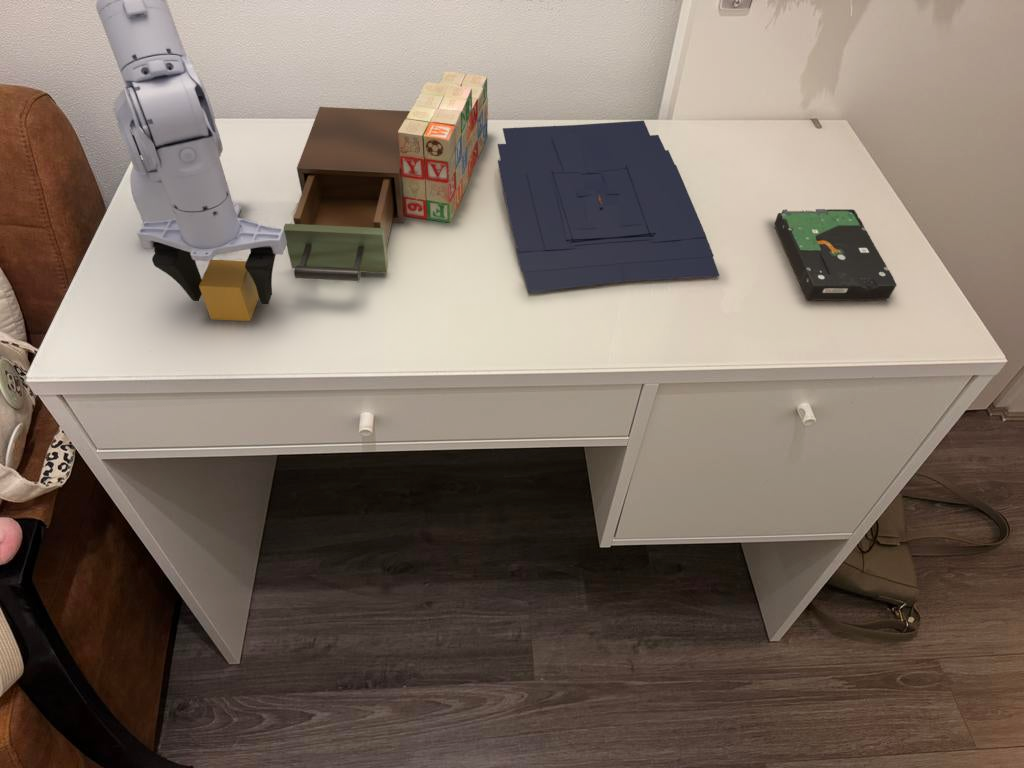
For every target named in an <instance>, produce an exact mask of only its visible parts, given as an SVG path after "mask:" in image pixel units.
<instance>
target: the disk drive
mask: <svg viewBox="0 0 1024 768" xmlns="http://www.w3.org/2000/svg"><path fill="white" fill-rule="evenodd" d="M774 226H775V230H776V232H777V234H778V237H779V239H780V242H781V244H782V247H783V249H784V251H785V253H786V255H787V257H788V260H789V261H790V264H791V266H792V269H793V271H794V273H795V275H796V277H797V280H798V282H799V285H800V286H801V289H802V291H803V293H804V295H805V296H806V299H807V300H820V301H838V300H839V301H841V300H842V301H854V300H855V301H856V300H858V301H860V300H861V301H862V300H864V301H865V300H869V301H870V300H872V301H873V300H876V301H877V300H889V299H890V298H891V296H892V294H893V292H894V291H895V289H896V287H897V283H896V281H895V279H894V276H893V274H892V272H891V271H890V270H889V268H888V266H887V264H886V262H885V261H884V259H883V257H882V256H881V254H880V252H879V251H878V249H877V247H876V245H875V243H874V242H873V240H872V238H871V235H870V234H869V232H868V231H867V230H866V228H865V225H864V224H863V222H862V220H861V218H860V217H859V215H858V213H857V212H856V210H855V209H852V208H851V209H849V208H847V209H845V208H844V209H841V208H840V209H839V208H838V209H834V208H833V209H831V208H829V209H828V208H827V209H825V208H815V210H788V209H782V210H781V212H778V213H777V215H776V218H775V221H774Z"/></svg>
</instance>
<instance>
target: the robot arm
mask: <svg viewBox="0 0 1024 768" xmlns="http://www.w3.org/2000/svg"><path fill="white" fill-rule="evenodd" d="M95 8H96V12H97V15H98V18H99V19H100V22H101V24H102V27H103V30H104V33H105V35H106V38H107V41H108V43H109V46H110V48H111V51H112V53H113V56H114V59H115V61H116V64H117V67H118V70H119V71H120V74H121V77H122V80H123V82H124V85H125V86H124V87H123V88H122V90H121V91H120V93H119V94H118V95H117V97H116V98H115V99H114V100H113V106H114V107H113V108H112V112H113V114H114V117H115V119H116V122H117V123H116V124H117V128H118V130H119V134H120V135H121V138H122V141H123V143H124V146H125V148H126V151H127V154H128V156H129V159H130V162H131V164H132V168H131V172H130V177H129V179H130V180H129V181H130V182H129V183H130V192H131V195H132V198H133V201H134V203H135V206H136V208H137V211H138V213H139V216H140V218H141V220H142V224H141V226H140V228H139V229H138V231H137V233H136V234H137V236H138V237H137V238H138V239H139V241H140V244H141V247H142V248H143V249H154V250H153V252H154V253H153V256H152V258H151V262H152V264H153V265H154V267H155V268H157V269H159V270H160V271H162V272H163V273H165V274H167V275H168V276H169V277H171V279H173V280H174V281H175V282H176V283H177V284H178V285H179V286H180V287H181V289H182V290H184V292H185V293H186V294H187V295H188V297H189V298H190V299H191V300H192V301H193V302H198V303H199V302H200V300H201V298H202V297H203V296H202V293H201V290H200V288H199V285H200V282H201V280H202V276H201V273H200V270H199V268H198V265H197V263H196V261H197V262H210V260H213V258H214V257H215V256H217V255H222V254H228V253H233V252H240V251H246V250H250V252H249V254H248V256H247V259H246V261H247V262H246V264H245V268H246V270H247V271H248V272H249V274H250V275H251V277H252V279H253V281H254V283H255V285H256V288H257V292H258V296H259V299H258V301H259V302H260V303H261V305H265V306H266V305H267V306H268V305H269V304H270V301H271V298H272V295H273V288H272V287H273V284H272V283H273V282H272V281H273V271H274V264H275V260H276V255H284V253H285V250H286V249H287V245H286V244H287V240H286V236H285V232H284V229H283V228H284V227H283V228H282V227H275V226H274V227H272V226H268V225H264V224H262V223H258V222H256V221H255V222H254V221H252V220H247V219H244V218H241V217H239V215H240V213H241V206H240V205H237V204H236V205H235V204H234V202H233V199H232V195H231V192H230V188H229V185H228V182H227V177H226V174H225V171H224V169H223V164H222V162H221V161H222V160H221V158H220V157H221V155H222V153H223V151H224V149H223V144H222V143H223V142H222V139H221V136H220V132H219V129H218V127H217V124H216V117H215V114H214V110H213V107H212V104H211V100H210V97H209V95H208V92H207V90H206V87H205V84H204V82H203V81H202V79H201V77H200V75H199V74H198V72H197V69H196V68H195V66H194V64H193V62H192V59H191V57H190V55H187V54H186V51H185V48H184V45H183V43H182V39H181V38H180V34H179V32H178V29H177V26H176V24H175V21H174V18H173V15H172V12H171V10H170V7H169V4H168V1H167V0H96V4H95Z"/></svg>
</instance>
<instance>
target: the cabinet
mask: <svg viewBox="0 0 1024 768" xmlns="http://www.w3.org/2000/svg"><path fill="white" fill-rule="evenodd" d="M410 111H411V110H393V109H392V110H391V109H373V108H356V107H355V108H353V107H352V108H351V107H334V106H333V107H331V106H319V108H318V110H317V112H316V115H315V118H314V121H313V123H312V126H311V129H310V132H309V134H308V136H307V140H306V142H305V144H304V147H303V149H302V153H301V155H300V158H299V161H298V163H297V166H296V172H297V176H298V183H299V185H300V186H299V187H300V190H301V193H302V192H303V189H304V186H305V183H306V180H307V178H308V175H309V173H311V174H332V175H353V176H374V177H393V178H394V189H395V199H396V205H395V210H394V214H393V219H392V223H402V224H403V223H405V222H404V221H405V217H406V216H405V211H404V199H403V196H404V194H403V182H402V175H401V166H400V150H399V139H398V131H399V129H400V127H401V126H402V124H403V122H404V120H405V119H406V118H407V116H408V114H409V112H410Z"/></svg>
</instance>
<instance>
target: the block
mask: <svg viewBox="0 0 1024 768" xmlns="http://www.w3.org/2000/svg"><path fill="white" fill-rule="evenodd" d="M208 262H209V263H208V265H207V267H206V269H205V270H204V273H203V275H202V277H201V279H202V280H201V282H200V285H199V288H200V290H201V293H202V296H201V297H202V298H203V301H204V304H205V306H206V309H207V312H208V314H209V317H210V319H211V320H216V321H217V320H218V321H236V322H237V321H238V322H239V321H241V322H251V321H252V318H253V315H254V312H255V310H256V307H257V304H258V301H259V296H258V292H257V288H256V285H255V283H254V281H253V279H252V277H251V275H250V274H249V272H248V271H247V270H246V268H245V264H246V262H247V260H229V259H212V260H210V261H208Z"/></svg>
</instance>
